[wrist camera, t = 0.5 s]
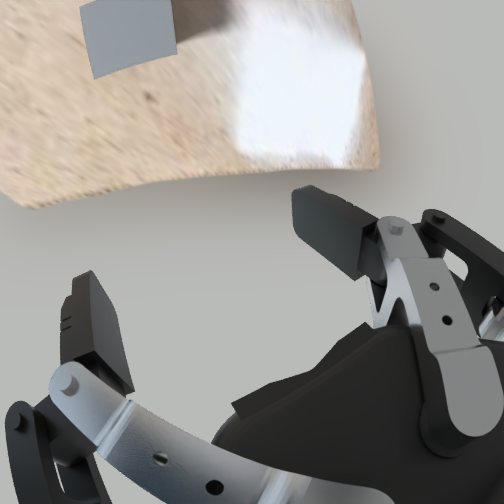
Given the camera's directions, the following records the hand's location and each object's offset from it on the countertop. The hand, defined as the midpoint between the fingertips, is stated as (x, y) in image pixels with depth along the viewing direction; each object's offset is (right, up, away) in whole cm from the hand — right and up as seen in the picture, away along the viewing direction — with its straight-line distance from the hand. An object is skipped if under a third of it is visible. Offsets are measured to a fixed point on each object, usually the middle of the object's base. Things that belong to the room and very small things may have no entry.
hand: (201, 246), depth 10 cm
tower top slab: (-11, +22, +8) cm, 26 cm away
